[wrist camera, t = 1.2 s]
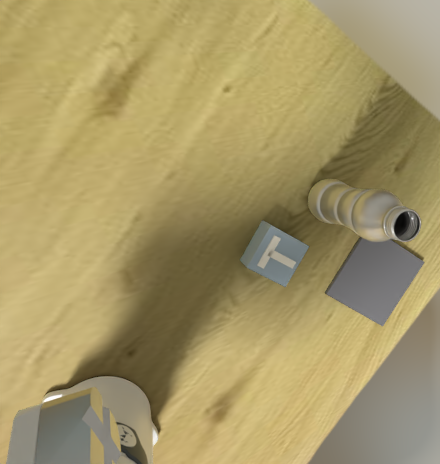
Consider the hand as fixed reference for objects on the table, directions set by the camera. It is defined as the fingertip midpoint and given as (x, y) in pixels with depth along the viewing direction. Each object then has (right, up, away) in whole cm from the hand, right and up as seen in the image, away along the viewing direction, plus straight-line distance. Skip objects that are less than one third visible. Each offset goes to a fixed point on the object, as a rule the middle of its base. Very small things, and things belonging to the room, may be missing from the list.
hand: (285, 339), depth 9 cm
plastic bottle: (+14, +8, +56) cm, 58 cm away
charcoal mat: (+24, -5, +61) cm, 66 cm away
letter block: (+6, 0, +56) cm, 56 cm away
